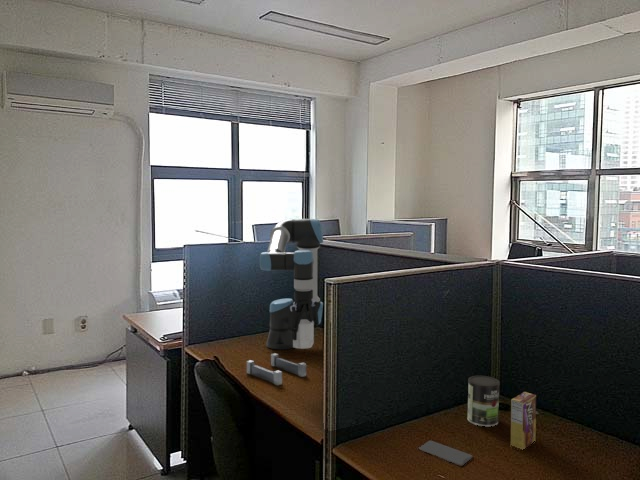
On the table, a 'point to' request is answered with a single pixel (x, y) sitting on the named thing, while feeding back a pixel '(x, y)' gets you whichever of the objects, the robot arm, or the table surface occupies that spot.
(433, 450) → the smartphone
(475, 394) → the coffee can
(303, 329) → the white cup
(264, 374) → the channel guide
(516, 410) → the candy box
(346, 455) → the table surface
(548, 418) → the table surface
